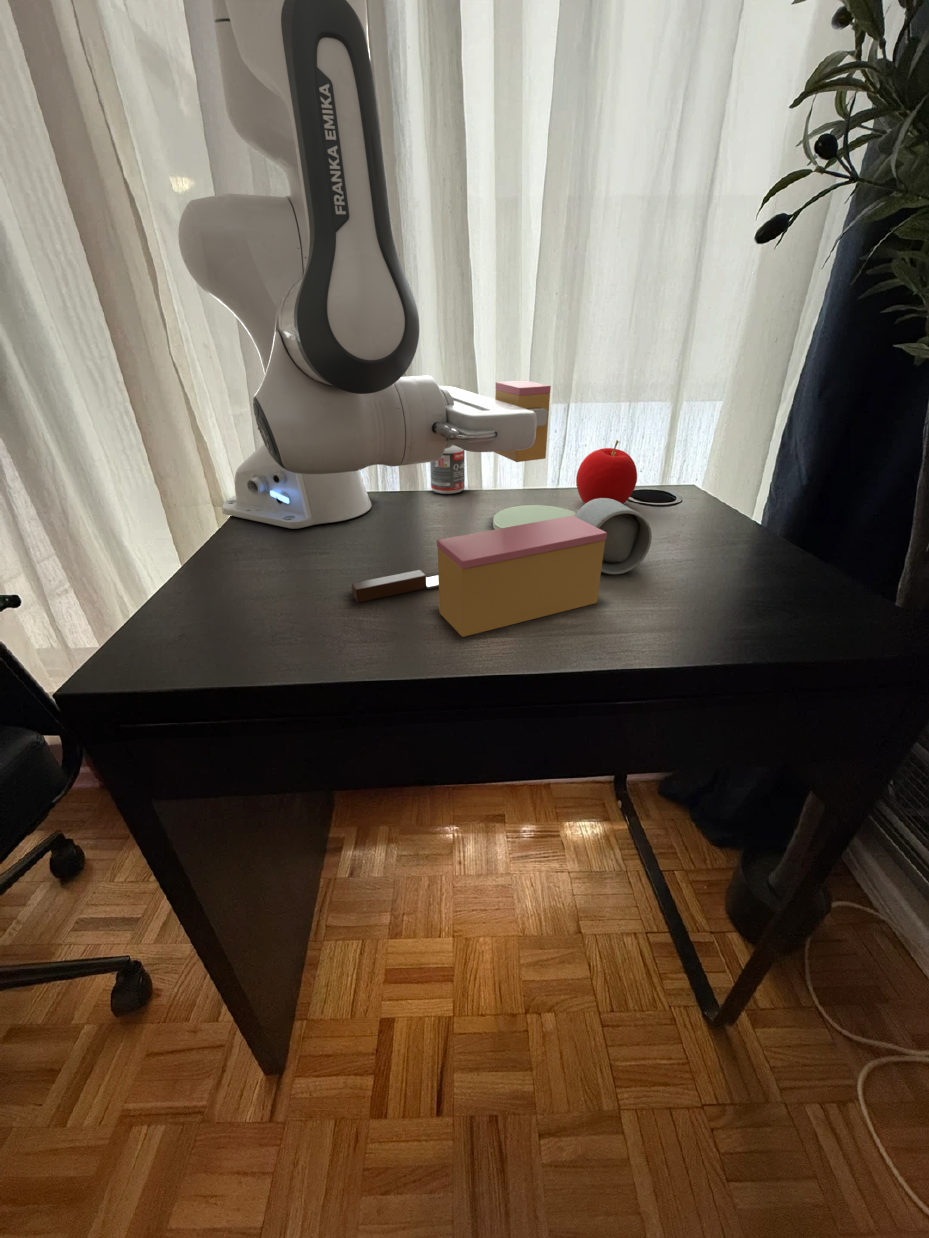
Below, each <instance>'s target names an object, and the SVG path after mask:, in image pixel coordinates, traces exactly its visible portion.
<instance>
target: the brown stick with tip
mask: <svg viewBox="0 0 929 1238" xmlns="http://www.w3.org/2000/svg"><path fill="white" fill-rule="evenodd" d="M436 588H439V581H438V574H437V575H433V576H428V577H427V575H426V574H425V573H424V572H423V571H422V570H421V569H416V570H412V571H405V572H402V573H397V574H391V575H386V576H381V577H377V578H371V579H366V580H361V581H356V582H351V592H352V597H353V598H354V600H355V601H356V603H358V604H360V603H363V602H368V601H373V600H377V599H383V598H387V597H391V596H396V595H401V594H406V593H411V592H415V591H420V590H424V589H427V590H432V589H436Z"/></svg>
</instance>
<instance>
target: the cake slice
mask: <svg viewBox="0 0 929 1238" xmlns="http://www.w3.org/2000/svg"><path fill="white" fill-rule="evenodd" d="M551 388H552V386H551V385H549V384H545V383H540V382H536V381H531V380H526V379H525V380H507V381H496V382H495V395H494V396H495V397H494V399H495V400H498V401H502V402H505V403H508V404H512V405H515V406H518V407H522V408H525V409H528V408H533V407H540V408H544V409H546V410H547V412H548V413H547V423H546V424H545V425H544V426H536V438H535V444H534V445H533V446H532V447H530V448H528V449H524V450H513V451H498V452H494V453H495V454H497V455H500V456H502V457H504V458H507V459H508V460H511V461H513V462H515V463H522V462H529V461H537V460H545V459H546V457H547V444H548V428H549V418H550V417H549V415H550V403H551V402H550V400H551V390H552V389H551Z"/></svg>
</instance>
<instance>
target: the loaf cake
mask: <svg viewBox="0 0 929 1238" xmlns="http://www.w3.org/2000/svg"><path fill="white" fill-rule="evenodd" d="M606 537H607V532H605V531H603V530H601V529H599V528H597V527H595V526H593V525H591V524H589V523H587V522H585V521H583V520H581V519H579V518H577V517H575V516H568V517H562V518H557V519H551V520H545V521H540V522H534V523H529V524H523V525H517V526H512V527H506V528H501V529H490V530H484V531H479V532H474V533H468V534H467V533H466V534H462V535H457V536H451V537H446V538H439V539H437V540H436V548H437V569H438V570H437V573H438V574H437V575H438V581H439V587H438V609H439V610H438V611H439V614H440V615H441V616H442V618H444V619H445V620H446V622H447V623H448V624H449V625H450V626H451V627H452V628H453V629H454V630H455V631H456V632H457V634H458V635H460V636H461V638H464V637H469V636H473V635H476V634H477V635H478V634H480V633H485V632H488V631H492V630H496V629H500V628H504V627H508V626H512V625H515V624H519V623H524V622H528V621H531V620H536V619H539V618H543V617H547V616H551V615H554V614H555V615H556V614H558V613H559V614H560V613H563V612H567V611H571V610H574V609H579V608H582V607H586V606H590V605H594V604H598V599H599V593H600V583H601V575H602V572H601V569H602V561H603V553H604V545H605V540H606Z"/></svg>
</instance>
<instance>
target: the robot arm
mask: <svg viewBox="0 0 929 1238" xmlns="http://www.w3.org/2000/svg"><path fill="white" fill-rule="evenodd" d="M367 5H368V3H367V0H211V7H212V16H213V22H214V24H213V25H214V31H215V39H216V46H217V52H218V60H219V68H220V74H221V82H222V89H223V96H224V104H225V110H226V113H227V117H228V119H229V121H230V124H231V126H232V128H233V129H234V130H235V132H236V133H237V135H238V136H239V137H240V138H241V139H242V140H243V141H244V142H245V143H246V144H247V145H248V146H250V147H251V148H252V149H254V150H255V151H256V152H257V153H259V154H261V155H262V156H263V157H265V158H266V159H268V160H270V161H271V162H273V163H274V164H276V165H278V166H279V167H280V168H281V169H282V170H283V172H284V174H285V177H286V178H287V181H288V185H289V190H290V191H289V192H290V194H289V195H285V196H275V195H261V194H260V195H258V194H245V193H223V194H217V195H216V194H215V195H210V196H205V197H201V198H196V199H195V198H194V199H191V200H190V201H189V202H188V203H187V204H186V206H185V207H184V209H183V211H182V213H181V216H180V220H179V224H178V234H177V235H178V246H179V251H180V255H181V257H182V261H183V264H184V265H185V267H186V269H187V271H188V273H189V275H190V276H191V277H192V279H193V280H194V281H195V283H196V284H197V285H198V286H199V287H200V288H201V289H202V290H203V291H204V292H205V293H207V294H208V295H209V296H211V297H213V298H214V299H215V300H216V301H218V302H219V303H220V304H222V305H223V306H224V307H225V308H226V309H227V310H229V311H230V312H231V313H232V315H234V317H235V318H236V319H237V320H238V321H239V322H240V324H241V325H242V326H243V328H244V329H245V330H246V332H247V333H248V335H249V337H250V338H251V340H252V342H253V344H254V346H255V349H256V350H257V353H258V356H259V359H260V362H261V366H262V369H263V373H264V375H263V379H262V382H261V384H260V385H259V388H258V389H257V391H256V393H255V394H254V395H253V398H252V400H253V402H252V407H253V414H254V417H255V422H256V425H257V430H258V431H259V433H260V436H261V439H262V441H263V443H261V445H260V446H259V447H257V449H256V450H254V452H253V453H252V454H250V456H248V457H247V458H246V459H245V460H244V461H243V462H242V463H241V464H240V465H239V466H238V467H237V469H236V471H235V475H234V493H235V495H234V496H232V497H231V498H229V499H228V500H226V501H225V502H223V504H222V507H221V512H222V514H223V515H226V516H231V517H235V518H236V517H237V518H240V519H244V520H250V521H252V522H253V521H254V522H259V523H263V524H266V525H267V524H268V525H272V526H278V527H282V528H287V529H291V530H294V529H295V530H296V529H303V528H307V527H311V526H315V525H322V524H329V523H336V522H342V521H347V520H350V519H355V518H357V517H359V516H361V515H364V514H365V513H367V512H368V511H369V510H371V508H372V502H371V499H370V497H369V494H368V491H367V488H366V485H365V481H364V478H363V472H362V470H364V469H365V468H368V467H371V466H386V467H400V466H401V467H402V466H410V465H417V464H419V465H420V464H426V463H430V462H436V461H438V460H439V459H440V458H441V457H442V455H443V453H444V450H445V449H446V448H450V447H451V446H452V445H455V446H457V447H459V448H461V449H463V450H464V451H466V452H470V453H495V452H498V451H513V450H524V449H528V448H530V447H532V446H533V445H534V444H535V438H536V426H544V425H545V424H546V423H547V413H548V412H547V410H546V409H544V408H540V407H533V408H528V409H525V408H522V407H518V406H515V405H512V404H508V403H505V402H502V401H498V400H495V397H493V398H492V397H488V396H485V395H482V394H478V393H476V392H472V391H468V390H465V389H461V388H458V387H455V386H450V385H449V386H447V385H439V384H438V383H437V381H436V380H435V379H434V378H433V376H431V375H413V376H404V375H405V373H406V372H407V371H408V369H409V368H410V366H411V364H412V362H413V361H414V358H415V355H416V352H417V349H418V344H419V339H420V316H419V312H418V306H417V302H416V299H415V296H414V293H413V291H412V288H411V285H410V283H409V280H408V279H407V276H406V273H405V272H404V269H403V266H402V264H401V261H400V258H399V256H398V252H397V249H396V245H395V240H394V236H393V235H394V234H393V229H392V222H391V215H390V206H389V198H388V190H387V181H386V179H387V178H386V171H385V163H384V162H385V161H384V155H383V144H382V136H381V129H380V120H379V112H378V111H379V110H378V103H377V96H376V88H375V82H374V81H375V80H374V75H373V68H372V63H371V61H372V60H371V54H370V53H371V52H370V45H369V44H370V43H369V26H368V25H369V24H368V9H367Z"/></svg>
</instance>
